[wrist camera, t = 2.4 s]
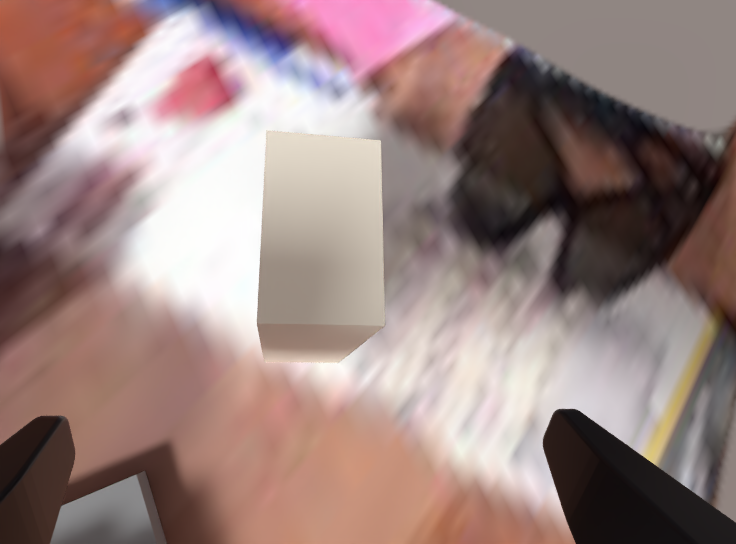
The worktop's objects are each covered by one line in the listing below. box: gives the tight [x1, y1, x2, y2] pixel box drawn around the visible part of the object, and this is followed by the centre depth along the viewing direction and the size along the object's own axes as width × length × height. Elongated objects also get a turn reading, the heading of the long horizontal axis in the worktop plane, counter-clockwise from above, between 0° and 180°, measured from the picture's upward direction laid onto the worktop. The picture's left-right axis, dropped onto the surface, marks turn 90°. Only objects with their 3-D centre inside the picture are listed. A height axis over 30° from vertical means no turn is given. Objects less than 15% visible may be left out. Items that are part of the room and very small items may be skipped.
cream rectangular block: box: [257, 131, 385, 363], centre depth 17 cm, size 6×3×9 cm, turn 1°
